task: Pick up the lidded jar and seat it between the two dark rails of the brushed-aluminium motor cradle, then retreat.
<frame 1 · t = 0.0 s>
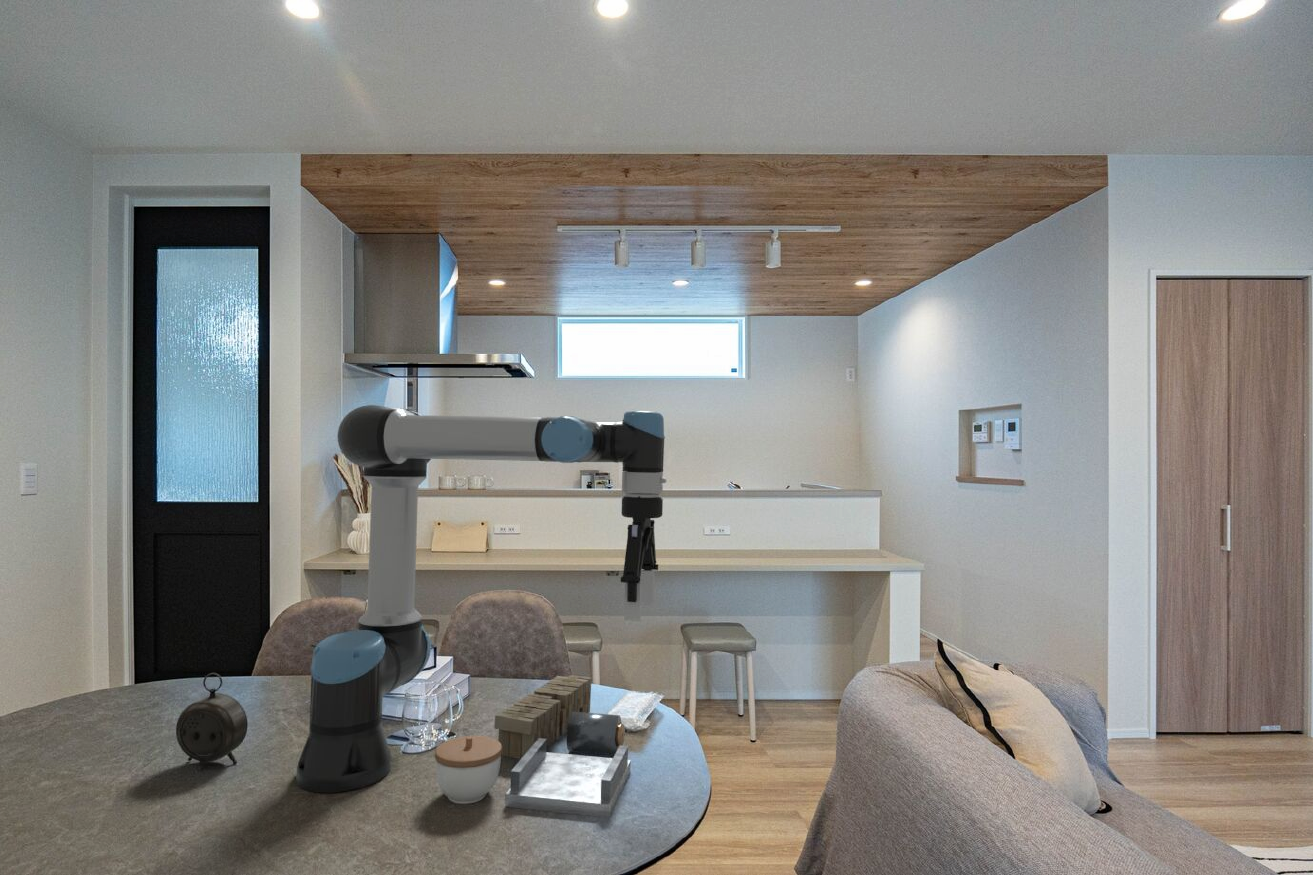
hand: (639, 612, 131), 28 cm above the table, fingers open, 13 cm apart
lidded jar: (467, 796, 119), on the table
block tower: (546, 734, 147), on the table
motor cradle: (571, 787, 122), on the table
alarm clock: (208, 766, 128), on the table
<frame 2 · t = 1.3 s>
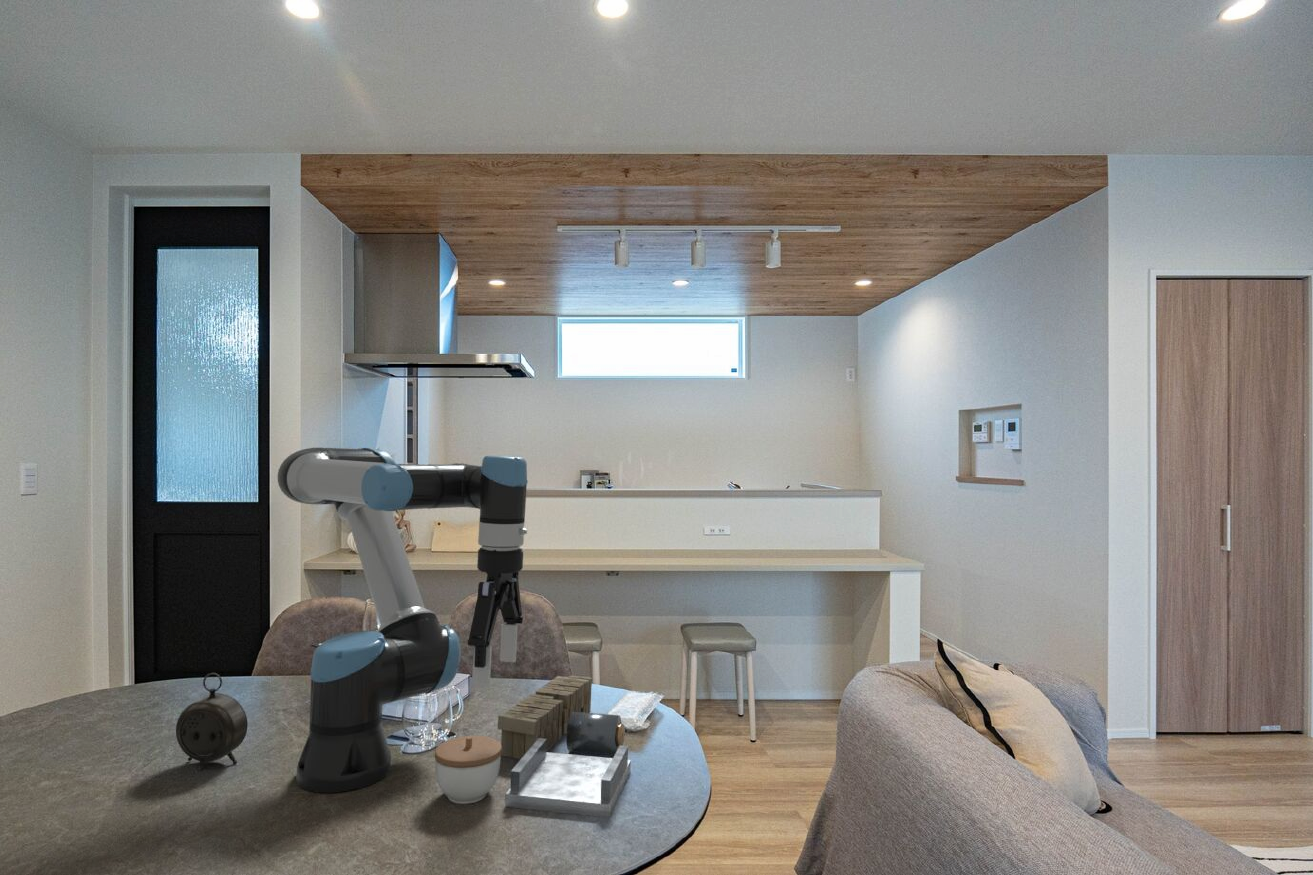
hand: (495, 673, 121), 19 cm above the table, fingers open, 13 cm apart
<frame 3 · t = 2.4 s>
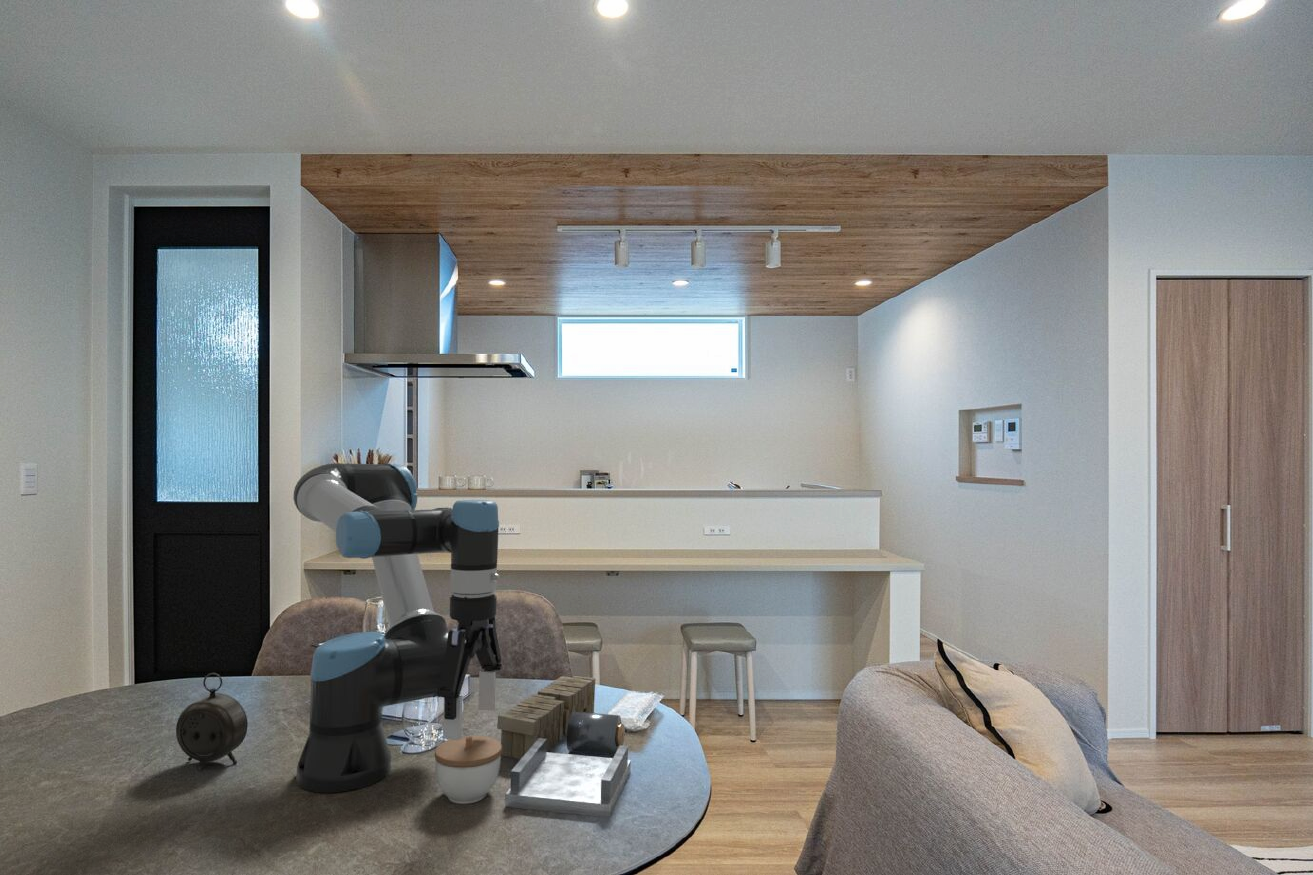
hand: (470, 723, 119), 12 cm above the table, fingers open, 13 cm apart
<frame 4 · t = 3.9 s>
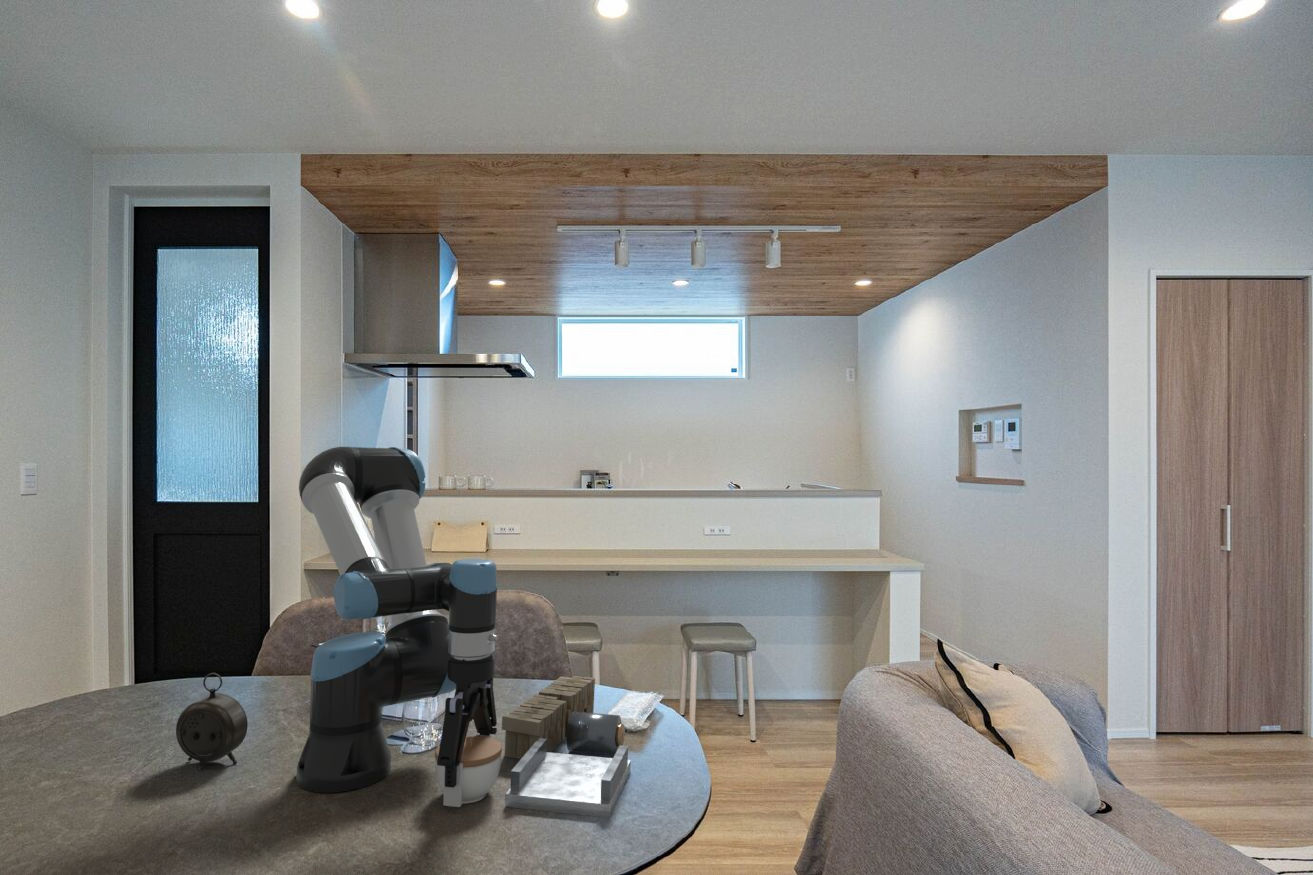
hand: (467, 788, 119), 1 cm above the table, fingers closed on lidded jar, 11 cm apart
lidded jar: (467, 796, 119), on the table, touching gripper
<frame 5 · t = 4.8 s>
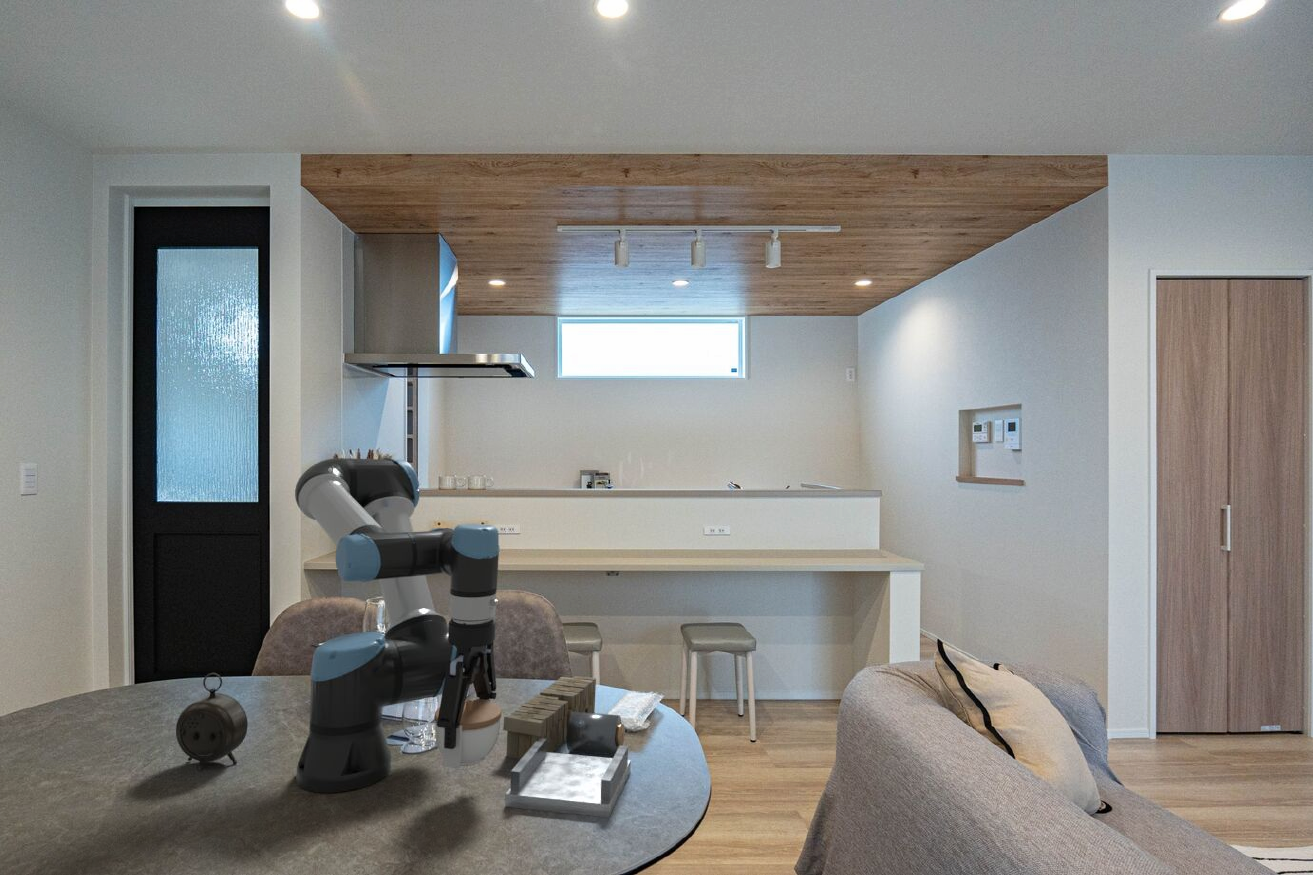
hand: (466, 751, 119), 7 cm above the table, fingers closed on lidded jar, 11 cm apart
lidded jar: (466, 758, 119), point 6 cm above the table, touching gripper
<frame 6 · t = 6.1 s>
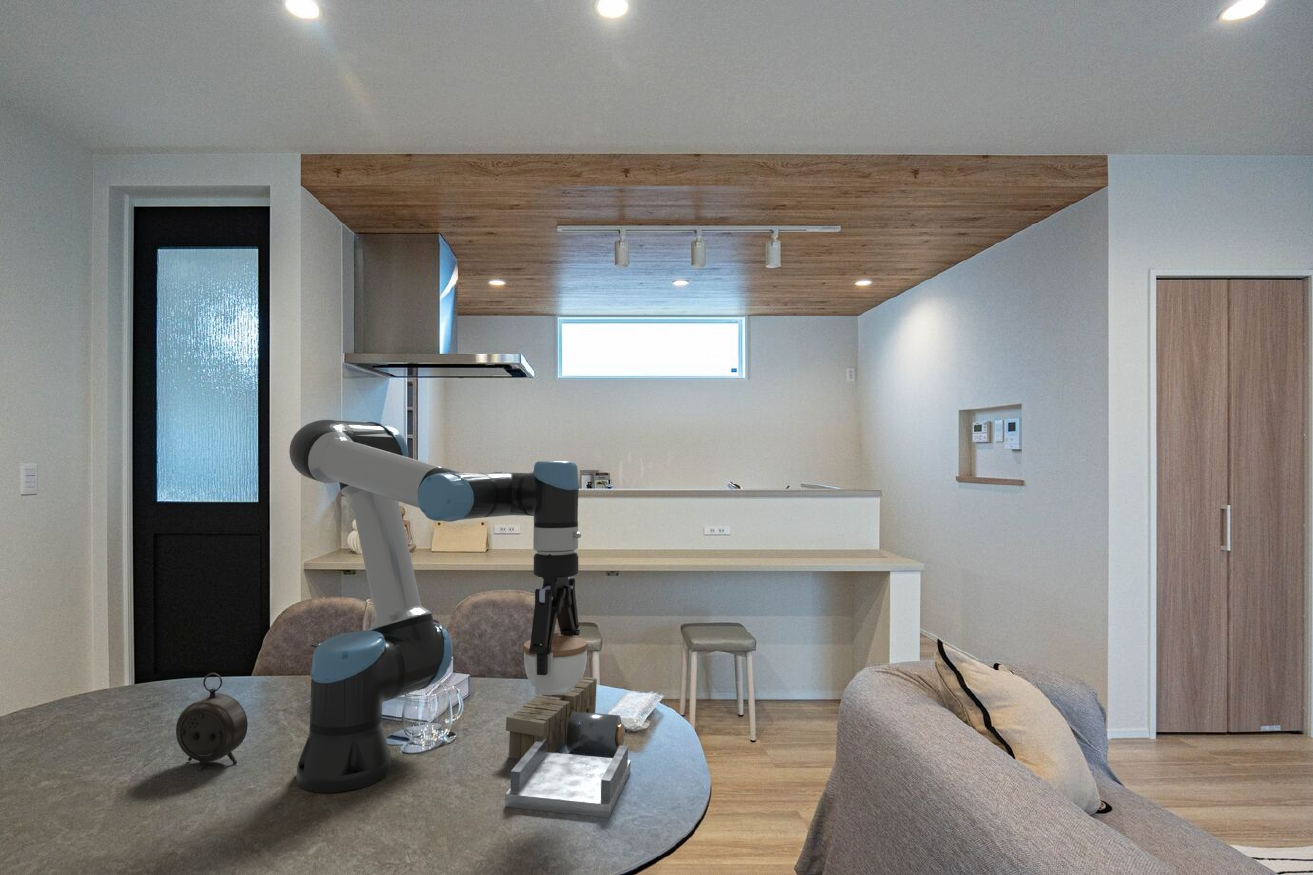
hand: (555, 683, 121), 18 cm above the table, fingers closed on lidded jar, 11 cm apart
lidded jar: (555, 690, 121), point 17 cm above the table, touching gripper
when the fingers open (5 cm above the table, at t = 9.2 s): lidded jar drops 2 cm, resting on motor cradle.
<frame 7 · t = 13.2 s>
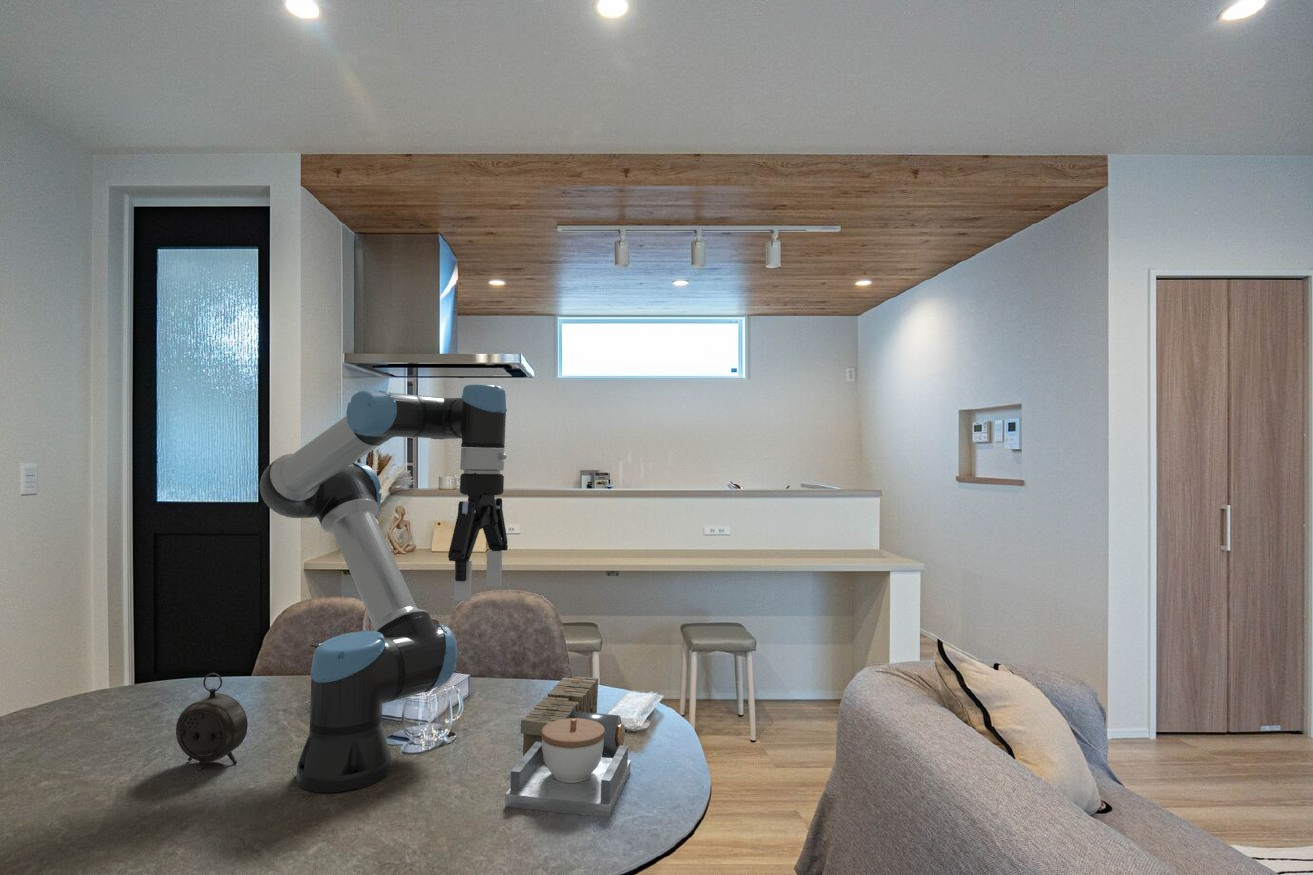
hand: (478, 593, 127), 32 cm above the table, fingers open, 13 cm apart
lidded jar: (572, 776, 122), point 2 cm above the table, touching motor cradle
block tower: (561, 736, 145), on the table, touching motor cradle
everything else where it was.
at the end: lidded jar inside the target area on the motor cradle (0.3 cm from its centre), point 1.8 cm above the motor cradle's base; lidded jar tilted 0°; the gripper is holding nothing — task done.
